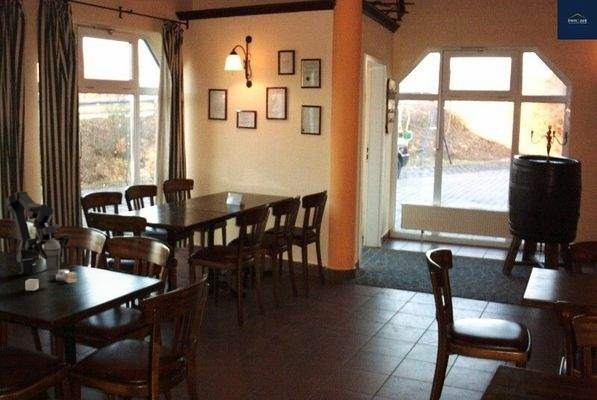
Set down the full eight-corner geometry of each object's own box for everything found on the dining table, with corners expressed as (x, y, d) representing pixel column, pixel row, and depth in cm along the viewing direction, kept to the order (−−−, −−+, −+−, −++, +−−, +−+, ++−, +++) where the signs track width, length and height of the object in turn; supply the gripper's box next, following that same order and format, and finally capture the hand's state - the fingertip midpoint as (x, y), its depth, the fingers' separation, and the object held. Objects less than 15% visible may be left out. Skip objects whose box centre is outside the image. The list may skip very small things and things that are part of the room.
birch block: (64, 281, 296) (64, 273, 295) (73, 280, 299) (72, 271, 298) (68, 283, 293) (68, 274, 292) (76, 281, 296) (76, 273, 295)
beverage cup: (50, 277, 282) (48, 232, 279) (41, 274, 286) (38, 229, 283) (65, 273, 288) (63, 229, 284) (56, 270, 292) (53, 227, 289)
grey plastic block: (25, 290, 282) (25, 281, 281) (29, 287, 286) (29, 279, 285) (34, 290, 281) (34, 281, 281) (38, 288, 285) (38, 279, 285)
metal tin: (53, 280, 298) (52, 271, 297) (61, 277, 304) (61, 268, 303) (64, 281, 296) (63, 273, 295) (72, 278, 302) (72, 270, 301)
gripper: (25, 221, 280) (36, 250, 273) (67, 216, 292) (79, 244, 286) (20, 236, 287) (30, 265, 280) (61, 230, 299) (72, 258, 293)
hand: (53, 257), depth 285 cm, fingers closed on beverage cup, 7 cm apart
